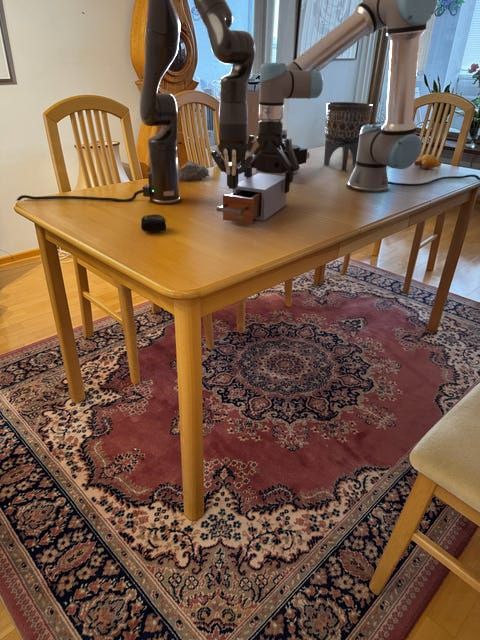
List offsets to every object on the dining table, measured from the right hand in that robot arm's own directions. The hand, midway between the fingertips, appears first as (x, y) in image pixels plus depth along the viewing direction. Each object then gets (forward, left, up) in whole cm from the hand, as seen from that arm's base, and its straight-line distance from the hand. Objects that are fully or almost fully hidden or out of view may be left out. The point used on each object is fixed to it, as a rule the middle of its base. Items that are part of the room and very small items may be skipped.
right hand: (267, 189), depth 150 cm
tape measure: (+31, +30, -5) cm, 44 cm away
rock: (+30, -34, -5) cm, 46 cm away
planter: (-33, -69, -5) cm, 76 cm away
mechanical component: (-5, -51, -5) cm, 51 cm away
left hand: (+10, +25, +6) cm, 27 cm away
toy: (-73, -74, -5) cm, 104 cm away
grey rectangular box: (+2, +5, -5) cm, 8 cm away
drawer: (+6, +16, -4) cm, 17 cm away
